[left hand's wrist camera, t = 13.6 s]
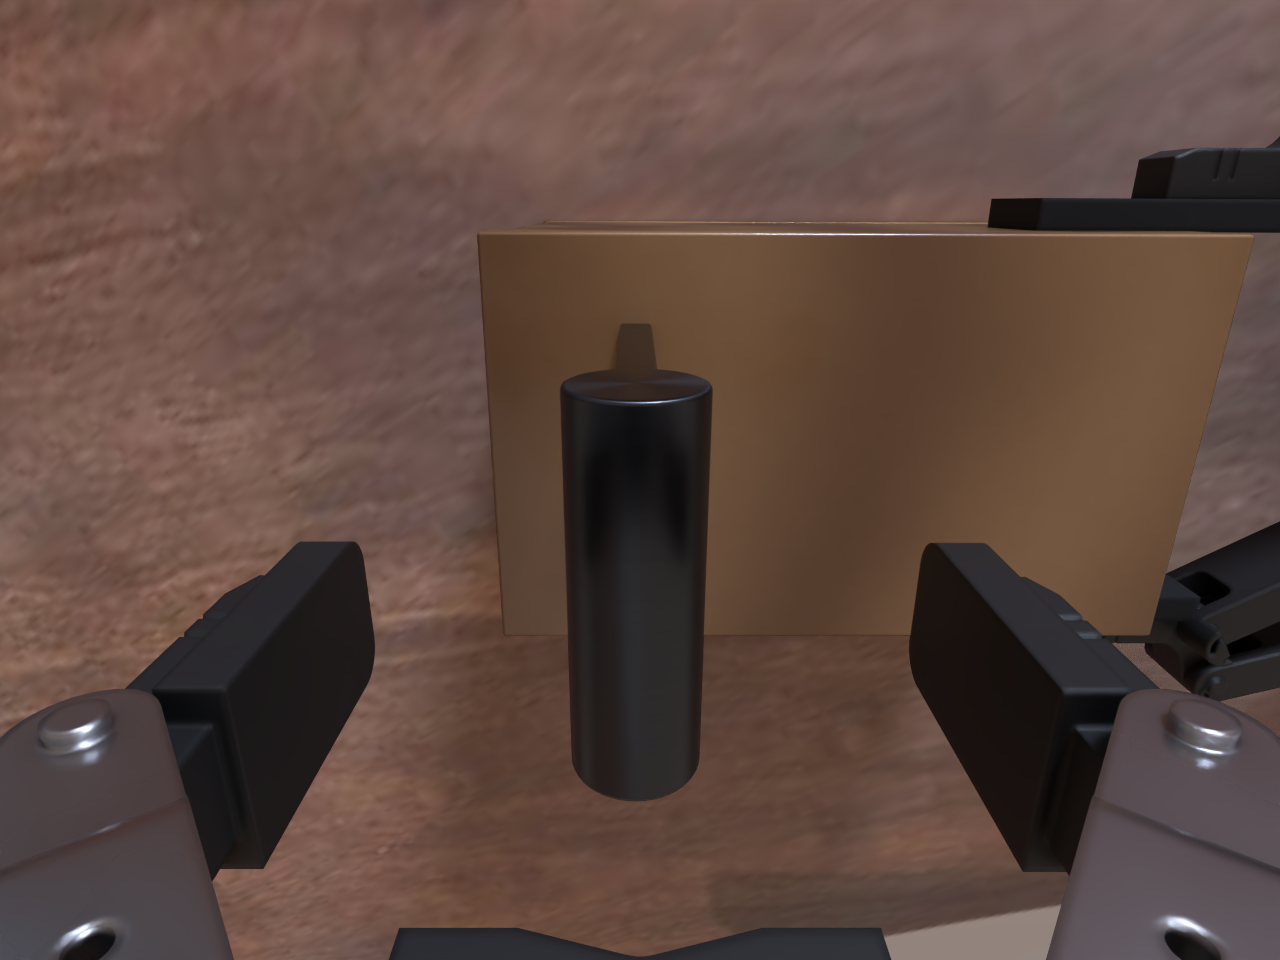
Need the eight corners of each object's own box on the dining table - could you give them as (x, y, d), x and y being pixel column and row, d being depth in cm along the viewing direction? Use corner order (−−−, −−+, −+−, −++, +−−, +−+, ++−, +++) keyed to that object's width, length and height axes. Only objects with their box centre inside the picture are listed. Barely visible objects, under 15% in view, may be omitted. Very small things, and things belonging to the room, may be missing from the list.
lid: (509, 614, 21) (425, 890, 12) (486, 230, 17) (348, 255, 9) (1124, 614, 21) (1450, 888, 13) (1219, 232, 18) (1750, 259, 9)
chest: (556, 497, 29) (525, 614, 21) (546, 221, 26) (505, 229, 18) (985, 498, 29) (1123, 613, 21) (1031, 222, 26) (1218, 231, 18)
